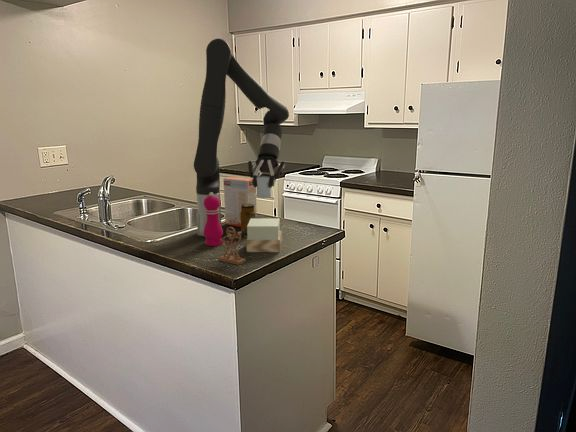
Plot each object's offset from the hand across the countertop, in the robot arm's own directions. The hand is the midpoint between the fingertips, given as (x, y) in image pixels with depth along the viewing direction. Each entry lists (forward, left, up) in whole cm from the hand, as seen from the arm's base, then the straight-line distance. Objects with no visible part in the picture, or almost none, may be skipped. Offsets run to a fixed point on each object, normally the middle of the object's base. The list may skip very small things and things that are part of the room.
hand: (262, 186), depth 155 cm
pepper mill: (-20, +6, -23) cm, 31 cm away
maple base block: (0, +2, -24) cm, 24 cm away
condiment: (-8, +19, -24) cm, 31 cm away
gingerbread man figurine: (-10, -13, -24) cm, 29 cm away
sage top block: (0, +1, -19) cm, 19 cm away
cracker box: (-13, +32, -24) cm, 41 cm away
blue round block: (0, +2, -4) cm, 5 cm away
